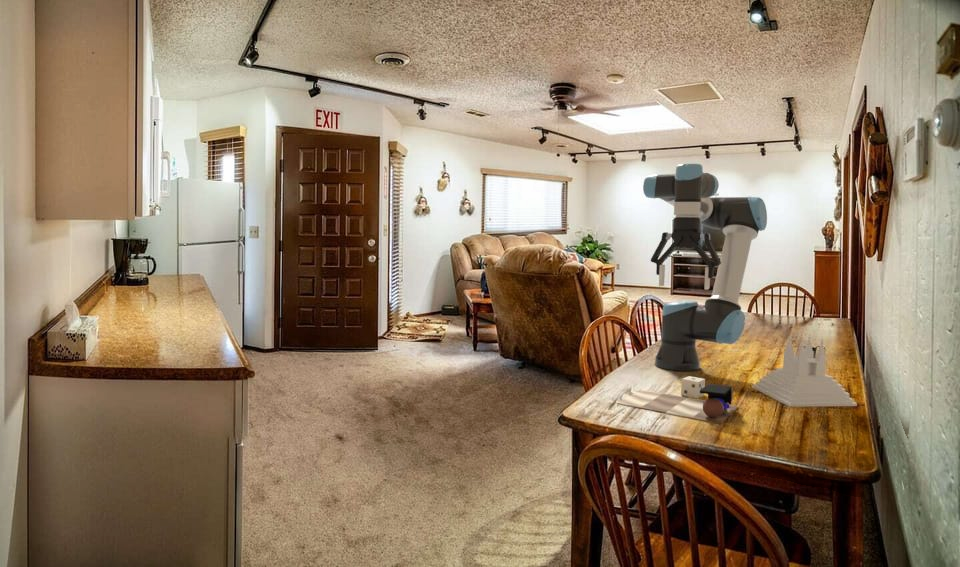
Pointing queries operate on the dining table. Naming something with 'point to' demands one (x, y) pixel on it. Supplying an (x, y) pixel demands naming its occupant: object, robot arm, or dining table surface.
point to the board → (673, 405)
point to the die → (692, 386)
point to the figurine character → (716, 399)
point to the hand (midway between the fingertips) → (683, 287)
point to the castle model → (804, 380)
